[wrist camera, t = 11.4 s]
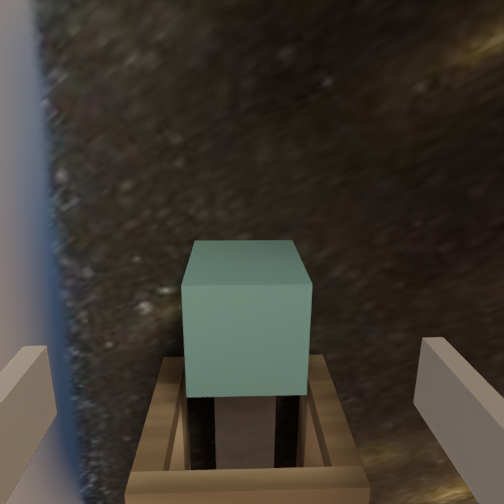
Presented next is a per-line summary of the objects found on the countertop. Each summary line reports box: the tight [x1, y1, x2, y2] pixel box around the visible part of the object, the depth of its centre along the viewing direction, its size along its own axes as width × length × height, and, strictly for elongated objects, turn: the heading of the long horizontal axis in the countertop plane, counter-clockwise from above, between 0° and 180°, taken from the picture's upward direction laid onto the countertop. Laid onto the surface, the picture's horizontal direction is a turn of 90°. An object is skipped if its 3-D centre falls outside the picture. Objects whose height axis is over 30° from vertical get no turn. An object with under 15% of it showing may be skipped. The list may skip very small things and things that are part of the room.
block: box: [181, 240, 313, 397], centre depth 20 cm, size 5×5×6 cm
